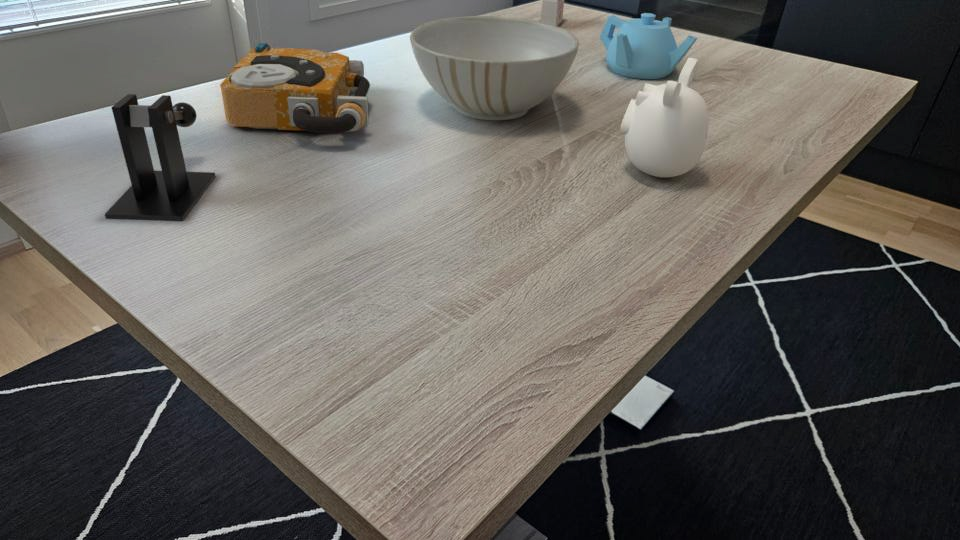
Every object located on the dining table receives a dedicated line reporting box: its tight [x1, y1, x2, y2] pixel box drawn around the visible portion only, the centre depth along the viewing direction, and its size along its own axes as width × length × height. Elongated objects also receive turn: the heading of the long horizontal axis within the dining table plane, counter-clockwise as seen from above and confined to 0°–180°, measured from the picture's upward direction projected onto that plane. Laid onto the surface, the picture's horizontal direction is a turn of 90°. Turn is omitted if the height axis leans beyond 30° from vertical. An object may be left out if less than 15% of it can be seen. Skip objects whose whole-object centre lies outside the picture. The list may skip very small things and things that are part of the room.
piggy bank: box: [619, 56, 709, 178], centre depth 95 cm, size 12×12×15 cm
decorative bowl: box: [409, 15, 580, 121], centre depth 115 cm, size 27×27×12 cm
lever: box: [129, 102, 198, 128], centre depth 87 cm, size 14×3×3 cm, turn 0°
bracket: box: [104, 93, 216, 222], centre depth 84 cm, size 12×9×13 cm
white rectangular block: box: [540, 0, 565, 27], centre depth 165 cm, size 4×7×10 cm, turn 161°
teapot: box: [598, 12, 698, 80], centre depth 137 cm, size 15×15×11 cm
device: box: [219, 42, 371, 135], centre depth 110 cm, size 23×8×30 cm
